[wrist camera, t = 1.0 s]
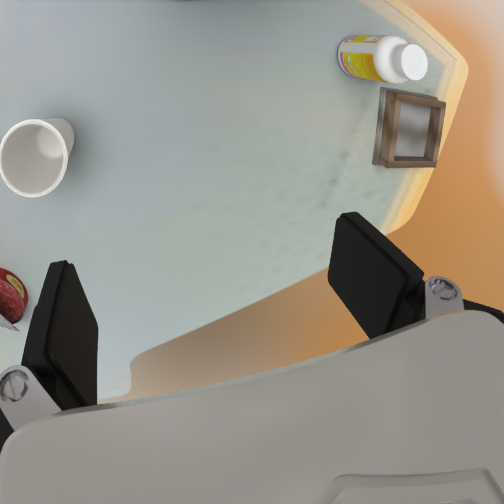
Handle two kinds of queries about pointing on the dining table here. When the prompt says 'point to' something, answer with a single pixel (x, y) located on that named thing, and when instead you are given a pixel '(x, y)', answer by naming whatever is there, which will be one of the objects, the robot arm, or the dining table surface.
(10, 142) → the dixie cup
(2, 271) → the canned food
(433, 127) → the shallow square brown tray
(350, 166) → the dining table surface
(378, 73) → the supplement bottle
